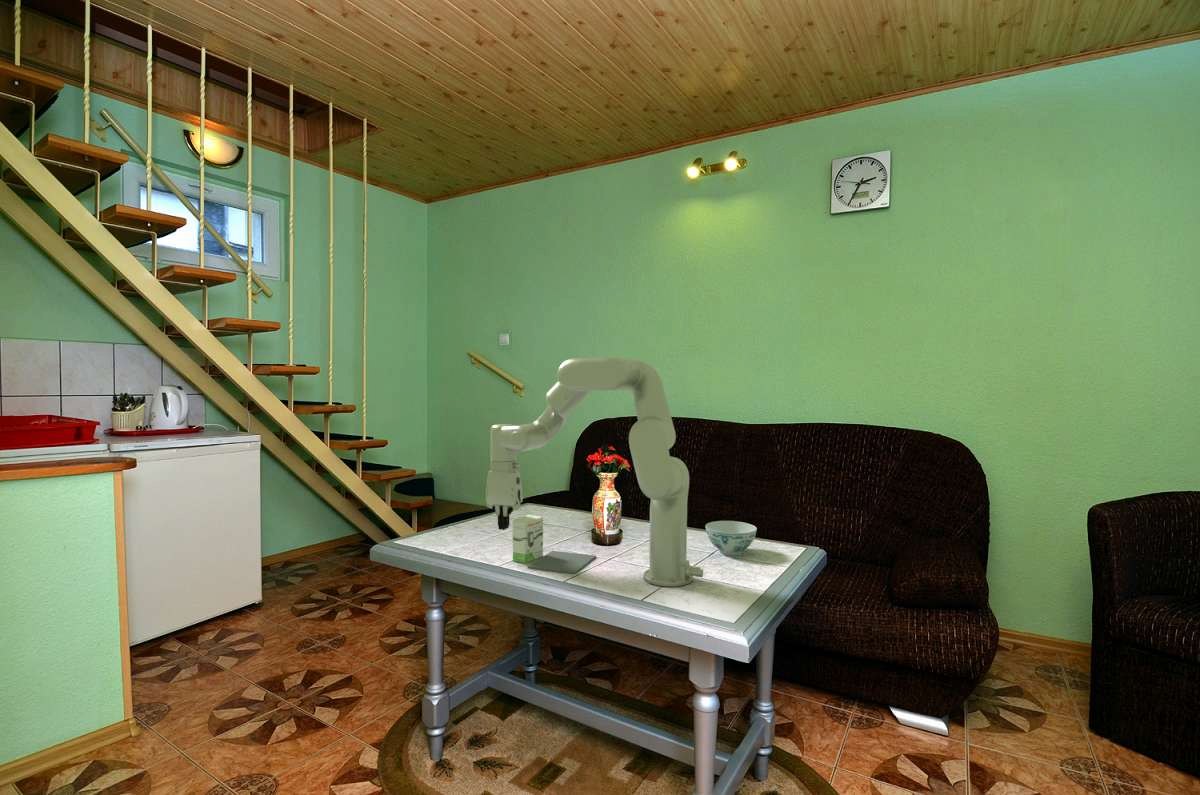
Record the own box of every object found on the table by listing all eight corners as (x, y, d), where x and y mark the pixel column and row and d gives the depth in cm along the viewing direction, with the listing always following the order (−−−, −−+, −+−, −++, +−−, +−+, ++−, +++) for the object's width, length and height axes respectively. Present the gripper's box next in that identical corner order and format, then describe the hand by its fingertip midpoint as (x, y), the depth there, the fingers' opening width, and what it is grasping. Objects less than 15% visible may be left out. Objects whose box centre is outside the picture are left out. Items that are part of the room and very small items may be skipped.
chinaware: (711, 560, 168) (711, 533, 168) (700, 545, 183) (700, 521, 183) (763, 559, 168) (763, 533, 168) (748, 545, 183) (748, 520, 183)
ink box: (525, 563, 164) (525, 522, 164) (511, 561, 167) (511, 520, 166) (543, 556, 172) (543, 516, 171) (530, 553, 174) (530, 514, 174)
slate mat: (596, 557, 170) (596, 555, 170) (574, 574, 155) (574, 572, 155) (552, 552, 175) (552, 550, 175) (527, 568, 160) (527, 566, 160)
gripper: (532, 466, 172) (532, 528, 173) (487, 463, 177) (488, 523, 178) (520, 469, 165) (520, 534, 166) (474, 466, 170) (474, 529, 171)
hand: (503, 528), depth 172 cm, fingers closed
